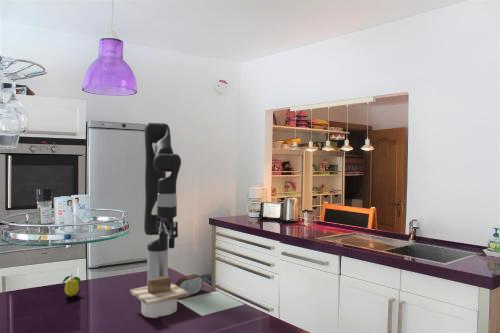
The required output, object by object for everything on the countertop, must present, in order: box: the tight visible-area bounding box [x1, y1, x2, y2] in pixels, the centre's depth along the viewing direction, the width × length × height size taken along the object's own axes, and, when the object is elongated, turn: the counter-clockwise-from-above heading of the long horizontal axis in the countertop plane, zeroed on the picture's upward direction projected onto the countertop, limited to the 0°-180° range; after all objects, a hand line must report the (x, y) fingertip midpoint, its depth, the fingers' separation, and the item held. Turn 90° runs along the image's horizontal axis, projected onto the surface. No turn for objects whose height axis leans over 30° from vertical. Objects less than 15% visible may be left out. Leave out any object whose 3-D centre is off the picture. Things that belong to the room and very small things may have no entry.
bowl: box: [140, 299, 178, 319], centre depth 152 cm, size 13×13×6 cm
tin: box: [174, 273, 204, 296], centre depth 170 cm, size 15×3×8 cm, turn 141°
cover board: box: [129, 275, 191, 305], centre depth 152 cm, size 17×17×6 cm
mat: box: [177, 290, 245, 317], centre depth 160 cm, size 20×20×1 cm
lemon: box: [61, 274, 82, 297], centre depth 167 cm, size 7×6×10 cm
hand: (166, 246), depth 154 cm, fingers open, 8 cm apart
